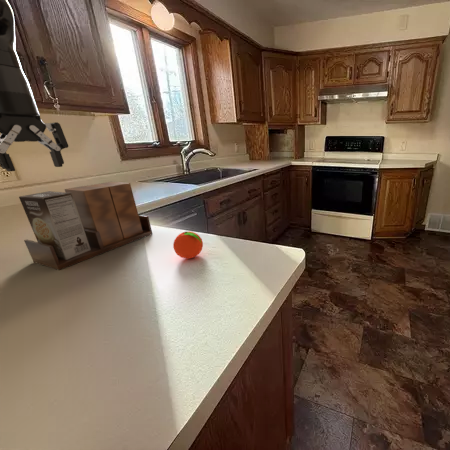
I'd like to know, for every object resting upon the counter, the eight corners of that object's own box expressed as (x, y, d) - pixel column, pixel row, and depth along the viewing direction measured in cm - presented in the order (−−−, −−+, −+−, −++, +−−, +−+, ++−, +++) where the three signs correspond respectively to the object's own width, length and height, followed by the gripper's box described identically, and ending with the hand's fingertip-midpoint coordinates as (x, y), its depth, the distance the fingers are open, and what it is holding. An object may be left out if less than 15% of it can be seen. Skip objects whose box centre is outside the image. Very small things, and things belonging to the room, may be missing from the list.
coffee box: (41, 256, 64) (16, 196, 58) (69, 246, 70) (48, 190, 64) (66, 260, 61) (41, 198, 56) (92, 249, 67) (73, 192, 62)
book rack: (58, 270, 59) (30, 201, 53) (33, 262, 64) (4, 197, 58) (152, 233, 81) (139, 181, 75) (128, 229, 85) (114, 180, 79)
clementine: (213, 253, 65) (209, 228, 63) (195, 265, 59) (189, 238, 57) (190, 249, 68) (185, 226, 66) (169, 261, 62) (164, 235, 60)
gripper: (41, 98, 60) (64, 165, 65) (-54, 88, 48) (-16, 172, 53) (58, 95, 57) (80, 166, 63) (-38, 84, 45) (0, 173, 50)
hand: (36, 168), depth 58 cm, fingers open, 8 cm apart
